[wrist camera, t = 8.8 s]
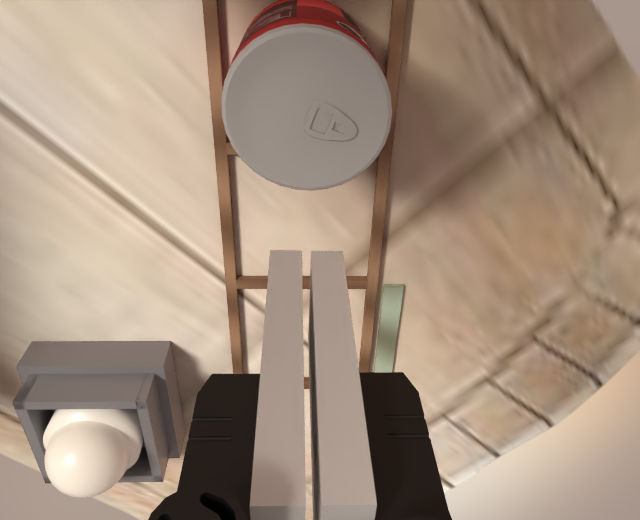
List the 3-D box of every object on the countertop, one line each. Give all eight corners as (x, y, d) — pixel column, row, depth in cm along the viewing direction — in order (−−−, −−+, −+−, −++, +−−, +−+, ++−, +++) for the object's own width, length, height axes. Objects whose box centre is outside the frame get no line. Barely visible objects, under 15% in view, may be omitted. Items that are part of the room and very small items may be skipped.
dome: (45, 389, 43) (8, 458, 38) (140, 389, 44) (117, 456, 38) (66, 450, 47) (36, 520, 42) (153, 449, 48) (134, 518, 42)
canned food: (359, 125, 36) (380, 197, 27) (239, 115, 35) (219, 186, 26) (376, 1, 32) (408, 35, 23) (242, -13, 31) (218, 16, 22)
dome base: (32, 341, 45) (-2, 395, 40) (170, 341, 46) (154, 394, 41) (63, 432, 51) (38, 489, 46) (185, 431, 52) (173, 487, 47)
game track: (199, -52, 30) (198, -51, 30) (448, -44, 31) (450, -44, 30) (235, 384, 49) (234, 389, 48) (389, 383, 49) (390, 388, 49)
